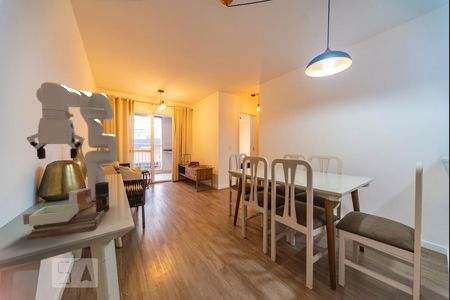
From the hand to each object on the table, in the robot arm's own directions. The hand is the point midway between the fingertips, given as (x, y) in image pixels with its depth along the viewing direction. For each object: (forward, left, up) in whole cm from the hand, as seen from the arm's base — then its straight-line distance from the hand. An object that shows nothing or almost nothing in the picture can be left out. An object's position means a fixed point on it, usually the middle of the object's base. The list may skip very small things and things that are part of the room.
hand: (58, 158), depth 67 cm
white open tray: (-6, -6, -29) cm, 30 cm away
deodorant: (-21, +9, -31) cm, 39 cm away
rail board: (-6, +1, -31) cm, 32 cm away
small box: (-28, -3, -31) cm, 42 cm away
